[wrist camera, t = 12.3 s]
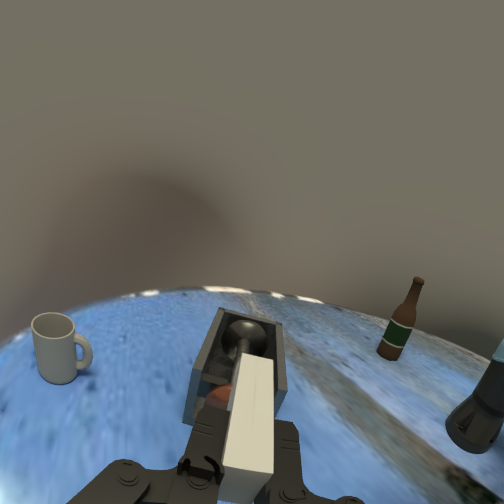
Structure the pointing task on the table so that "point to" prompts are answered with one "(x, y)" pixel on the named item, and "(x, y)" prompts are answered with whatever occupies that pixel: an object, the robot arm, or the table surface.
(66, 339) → the cup
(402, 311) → the beer bottle
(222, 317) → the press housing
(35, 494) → the table surface
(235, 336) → the plunger
